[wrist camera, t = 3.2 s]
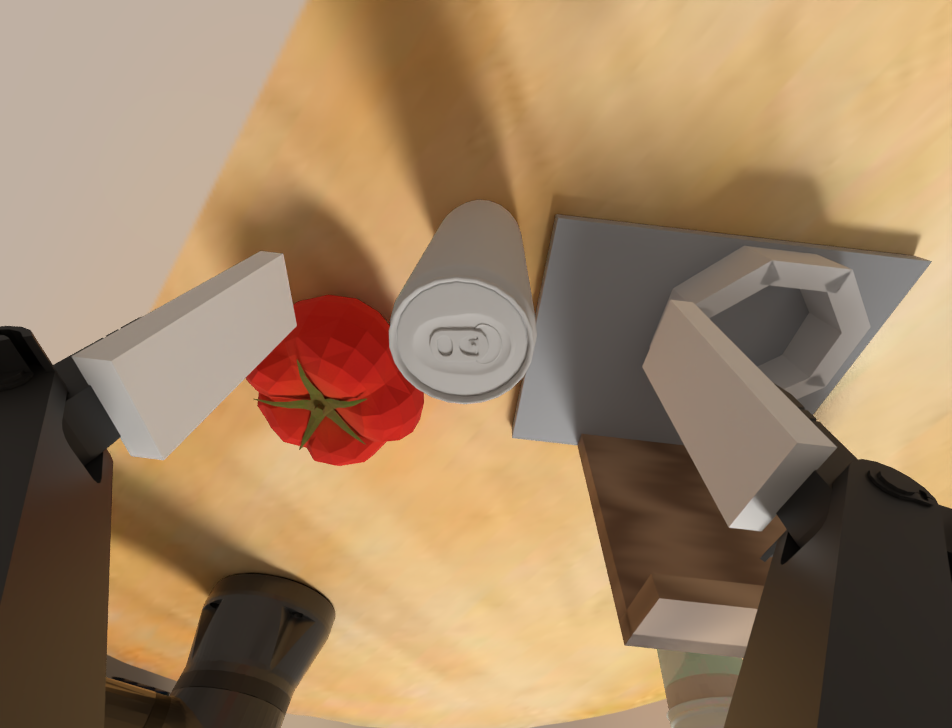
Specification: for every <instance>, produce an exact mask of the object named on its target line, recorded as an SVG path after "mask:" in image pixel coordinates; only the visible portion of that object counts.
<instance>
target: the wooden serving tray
mask: <svg viewBox="0 0 952 728" xmlns="http://www.w3.org/2000/svg"><path fill="white" fill-rule="evenodd" d="M578 449H579V454H580V458H581V462H582V466H583V471H584V475H585V479H586V483H587V488H588V492H589V496H590V500H591V505H592V509H593V513H594V517H595V522H596V526H597V530H598V534H599V539H600V543H601V547H602V551H603V555H604V560H605V564H606V568H607V572H608V577H609V581H610V585H611V589H612V594H613V598H614V602H615V606H616V611H617V615H618V619H619V623H620V628H621V632H622V636H623V640H624V645H626V646H636V647H645V648H654V649H663V650H672V651H682V652H691V653H700V654H709V655H718V656H728V657H737V658H744V655H745V651H746V648H747V644H748V641H749V637H750V634H751V630H752V627H753V623H754V620H755V616H756V613H757V609H758V606H759V603H760V599H761V596H762V592H763V589H764V585H765V582H766V578H767V575H768V571H769V568H770V564H771V561H772V557H770V558H769V559H768V560H767V561H766V562H764V561H763V560H761V559H760V557H761V556H762V555H763V554H764V553H765V552H766V551H767V550H768V549H769V548H770V547H771V545H772V544H773V543H774V542H775V541H776V540H777V539H778V538H779V537H780V536H781V535H782V534H783V533H784V532H785V531H786V530H787V529H786V527H785V526H784V524H783V523H782V522H781V520H780V519H779V517H778V516H777V515H776V516H775V517H774V518H773V520H772V521H771V522H770V523H769V524H768V525H767V526H766V527H765V528H764V530H763V531H754V530H745V529H737V528H729V527H728V525H727V523H726V521H725V520H724V518H723V516H722V514H721V512H720V510H719V508H718V507H717V505H716V503H715V501H714V499H713V497H712V495H711V494H710V492H709V490H708V488H707V486H706V484H705V483H704V481H703V479H702V477H701V475H700V473H699V471H698V470H697V468H696V466H695V464H694V462H693V460H692V458H691V457H690V455H689V453H688V451H687V449H686V447H685V445H677V444H668V443H659V442H650V441H642V440H633V439H624V438H615V437H606V436H597V435H588V434H581V437H580V440H579V443H578Z"/></svg>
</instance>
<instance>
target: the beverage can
mask: <svg viewBox="0 0 952 728" xmlns="http://www.w3.org/2000/svg"><path fill="white" fill-rule="evenodd" d="M536 338H537V330H536V320H535V312H534V306H533V301H532V295H531V289H530V283H529V277H528V271H527V265H526V259H525V254H524V248H523V242H522V236H521V232H520V229H519V226H518V224H517V221H516V220H515V219H514V217H513V216H512V215H511V213H510V212H509V211H507V210H506V209H505V208H504V207H502V206H501V205H499V204H497V203H494V202H492V201H489V200H474V201H470V202H466V203H464V204H462V205H460V206H459V207H457V208H455V209H454V210H453V211H452V212H450V213H449V214H448V215H447V216H446V217H445V219H444V220H443V222H442V223H441V225H440V226H439V228H438V230H437V231H436V233H435V235H434V236H433V238H432V240H431V242H430V243H429V245H428V247H427V248H426V250H425V252H424V254H423V255H422V257H421V259H420V260H419V262H418V264H417V265H416V267H415V269H414V270H413V272H412V274H411V275H410V277H409V279H408V280H407V282H406V284H405V286H404V287H403V289H402V291H401V292H400V294H399V296H398V297H397V299H396V301H395V303H394V307H393V311H392V315H391V318H390V328H389V348H390V351H391V354H392V357H393V359H394V362H395V364H396V366H397V367H398V369H399V370H400V372H401V373H402V375H403V376H404V377H405V378H406V379H407V380H408V381H409V382H410V383H411V384H412V385H413V386H414V387H416V388H417V389H418V390H420V391H422V392H424V393H425V394H427V395H429V396H431V397H433V398H436V399H439V400H442V401H446V402H450V403H459V404H471V403H481V402H485V401H488V400H491V399H494V398H497V397H499V396H501V395H502V394H504V393H506V392H507V391H509V390H510V389H512V388H513V387H514V386H515V385H516V384H517V383H518V382H519V381H520V380H521V379H522V378H523V377H524V375H525V373H526V371H527V369H528V367H529V366H530V364H531V361H532V356H533V352H534V347H535V343H536Z"/></svg>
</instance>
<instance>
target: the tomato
mask: <svg viewBox="0 0 952 728" xmlns="http://www.w3.org/2000/svg"><path fill="white" fill-rule="evenodd" d="M293 308H294V313H295V318H296V323H297V326H296V327H295V328H294V329H293V330H292V331H291V332H290V333H289V334H288V335H287V336H286V337H285V338H284V339H283V340H282V341H281V342H280V343H279V344H278V345H277V346H276V347H275V348H274V349H273V350H272V352H271V353H270V354H269V355H268V356H267V357H266V358H265V359H264V360H263V361H262V362H261V363H260V364H259V365H258V366H257V367H256V368H255V369H254V370H253V371H252V372H251V373H250V374H249V375H248V376H247V377H246V380H247V381H248V382H249V383H250V384H251V385H252V386H253V387H254V388H255V389H256V390H257V391H258V392H259V397H258V399H254V400H258V407H259V409H260V410H261V412H262V413H263V415H264V416H265V418H266V419H267V421H268V423H269V425H270V427H271V428H272V429H273V430H274V431H275V432H276V434H277V435H278V436H279V437H280V438H281V439H282V440H283V442H287V443H290V444H294V445H298V446H300V449H301V448H302V447H306V448H307V449H308V451H309V452H310V454H311V456H312V458H313V459H314V460H315V461H317V462H323V463H327V464H331V465H337V466H342V465H348V464H354V463H361V462H365V461H366V460H367V459H369V458H370V457H371V456H373V455H374V454H375V453H376V452H377V451H378V450H379V449H380V448H381V447H382V446H383V445H384V444H385V443H386V442H387V441H395V440H400V439H402V438H404V437H405V436H407V435H408V434H410V433H412V432H413V430H414V429H415V427H416V425H417V424H418V422H419V420H420V417H421V413H422V408H423V404H424V392H422V391H420V390H418V389H417V388H416V387H414V386H413V385H412V384H411V383H410V382H409V381H408V380H407V379H406V378H405V377H404V376H403V375H402V373H401V372H400V370H399V369H398V367H397V366H396V364H395V362H394V359H393V357H392V354H391V351H390V348H389V328H390V326H389V324H388V323H387V322H386V321H385V319H384V318H383V317H382V316H381V314H380V313H379V312H378V311H376V310H374V309H373V308H371V307H370V306H368V305H366V304H365V303H363V302H361V301H360V300H358V299H356V298H348V297H341V296H334V295H325V296H321V297H316V298H311V299H307V300H302V301H298V302H297V303H295V304H293ZM300 449H299V450H300Z"/></svg>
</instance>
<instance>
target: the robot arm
mask: <svg viewBox="0 0 952 728" xmlns="http://www.w3.org/2000/svg"><path fill="white" fill-rule="evenodd" d="M296 326H297V323H296V318H295V313H294V308H293V302H292V297H291V292H290V286H289V281H288V276H287V271H286V265H285V260H284V255H283V254H282V253H274V252H266V251H260V252H258V253H256V254H254V255H252V256H251V257H249V258H247V259H245V260H244V261H242V262H240V263H238V264H236V265H235V266H233V267H231V268H229V269H227V270H226V271H224V272H222V273H220V274H218V275H217V276H215V277H213V278H211V279H209V280H208V281H206V282H204V283H202V284H200V285H199V286H197V287H195V288H193V289H191V290H190V291H188V292H186V293H184V294H182V295H181V296H179V297H177V298H175V299H173V300H172V301H170V302H168V303H166V304H164V305H163V306H161V307H159V308H157V309H155V310H154V311H152V312H150V313H148V314H146V315H145V316H143V317H140V318H138V319H136V320H134V321H132V322H130V323H129V324H126V325H125V326H123V327H121V329H120V330H116V331H114V332H112V333H110V334H108V335H107V336H106V337H105V338H101V339H99V340H98V341H96V342H94V343H92V344H90V345H89V346H87V347H85V348H84V349H81V350H80V351H78V352H76V353H74V354H72V355H70V356H69V357H67V358H65V359H63V360H62V361H60V362H58V363H56V364H55V365H52V363H51V361H50V360H49V358H48V357H47V355H46V354H45V352H44V350H43V349H42V347H41V346H40V344H39V343H38V341H37V340H36V338H35V337H34V335H33V333H32V332H31V331H30V330H29V329H26V328H23V327H15V326H14V327H13V326H1V327H0V728H281V726H282V723H283V720H284V717H285V714H286V711H287V708H288V706H289V703H290V701H291V698H292V695H293V693H294V691H295V689H296V687H297V686H298V684H299V683H300V681H301V680H302V678H303V676H304V675H305V673H306V672H307V670H308V669H309V667H310V666H311V664H312V662H313V661H314V659H315V658H316V656H317V655H318V653H319V652H320V650H321V649H322V647H323V645H324V644H325V642H326V641H327V639H328V637H329V634H330V631H331V628H332V625H333V622H334V619H335V611H334V609H333V607H332V605H331V604H330V603H329V602H328V601H327V600H326V599H325V598H324V597H323V596H322V595H320V594H319V593H317V592H316V591H314V590H312V589H310V588H308V587H306V586H304V585H302V584H299V583H297V582H294V581H291V580H287V579H284V578H280V577H275V576H270V575H262V574H239V575H233V576H229V577H226V578H224V579H222V580H220V581H219V582H218V583H217V584H216V585H215V587H214V589H213V590H212V592H211V594H210V595H209V597H208V599H207V600H206V602H205V604H204V606H203V609H202V613H201V616H200V620H199V623H198V627H197V630H196V634H195V637H194V641H193V644H192V648H191V651H190V654H189V658H188V661H187V664H186V667H185V669H184V671H183V672H182V674H181V676H180V678H179V680H178V681H177V683H176V685H175V687H174V688H173V690H172V692H171V693H170V695H169V696H166V695H163V694H159V693H156V692H154V691H150V690H147V689H144V688H140V687H137V686H134V685H130V684H127V683H123V682H120V681H117V680H113V679H110V678H107V677H106V656H107V626H108V596H109V566H110V536H111V506H112V476H113V460H112V457H111V455H110V453H109V452H108V450H107V448H108V447H109V446H110V445H111V444H113V443H114V442H115V441H116V440H117V439H119V438H121V440H122V442H123V443H124V445H125V447H126V448H127V450H128V452H129V453H130V455H131V456H134V457H142V458H150V459H159V460H165V459H166V458H167V457H168V456H169V455H170V454H171V453H172V452H173V451H174V450H175V449H176V448H177V447H178V446H179V445H180V444H181V442H182V441H183V440H184V439H185V438H186V437H187V436H188V435H189V434H190V433H191V432H192V431H193V430H194V429H195V428H196V427H197V426H198V425H199V424H200V423H201V422H202V421H203V420H204V419H205V418H206V417H207V416H208V415H209V414H210V413H211V412H212V411H213V410H214V409H215V408H216V407H217V406H218V405H219V404H220V403H221V402H222V401H223V400H224V399H225V398H226V397H227V396H228V395H229V394H230V393H231V392H232V391H233V390H234V389H235V388H236V387H237V386H238V385H239V384H240V383H241V382H242V381H243V380H244V379H245V378H246V377H247V376H248V375H249V374H250V373H251V372H252V371H253V370H254V369H255V368H256V367H257V366H258V365H259V364H260V363H261V362H262V361H263V360H264V359H265V358H266V357H267V356H268V355H269V354H270V353H271V352H272V350H273V349H274V348H275V347H276V346H277V345H278V344H279V343H280V342H281V341H282V340H283V339H284V338H285V337H286V336H287V335H288V334H289V333H290V332H291V331H292V330H293V329H294V328H295V327H296ZM642 367H643V369H644V371H645V373H646V375H647V377H648V379H649V380H650V382H651V384H652V386H653V388H654V390H655V392H656V393H657V395H658V397H659V399H660V401H661V403H662V405H663V406H664V408H665V410H666V412H667V414H668V416H669V418H670V419H671V421H672V423H673V425H674V427H675V429H676V431H677V432H678V434H679V436H680V438H681V440H682V442H683V444H684V445H685V447H686V449H687V451H688V453H689V455H690V457H691V458H692V460H693V462H694V464H695V466H696V468H697V470H698V471H699V473H700V475H701V477H702V479H703V481H704V483H705V484H706V486H707V488H708V490H709V492H710V494H711V495H712V497H713V499H714V501H715V503H716V505H717V507H718V508H719V510H720V512H721V514H722V516H723V518H724V520H725V521H726V523H727V525H728V527H729V528H737V529H745V530H754V531H763V530H764V528H765V527H766V526H767V525H768V524H769V523H770V522H771V521H772V520H773V518H774V517H775V516H776V515H777V516H778V517H779V519H780V520H781V522H782V523H783V524H784V526H785V527H786V529H787V530H786V531H785V532H784V533H783V534H782V535H781V536H780V537H779V538H778V539H777V540H776V541H775V542H774V543H773V544H772V545H771V547H770V548H769V549H768V550H767V551H766V552H765V553H764V554H763V555H762V556H761V557H760V559H761V560H763V561H764V562H766V561H767V560H768V559H769V558H770V557H772V561H771V564H770V568H769V571H768V575H767V578H766V582H765V585H764V589H763V592H762V596H761V599H760V603H759V606H758V609H757V613H756V616H755V620H754V623H753V627H752V630H751V634H750V637H749V641H748V644H747V648H746V651H745V655H744V658H743V662H742V665H741V669H740V672H739V676H738V679H737V683H736V686H735V690H734V693H733V696H732V700H731V703H730V707H729V710H728V714H727V717H726V721H725V724H724V728H952V509H951V508H947V507H944V506H941V505H938V503H937V501H936V499H935V498H934V497H933V496H932V495H931V494H930V493H929V492H928V491H927V490H926V489H925V488H924V487H923V486H921V485H920V484H918V483H917V482H916V481H914V480H913V479H911V478H910V477H908V476H907V475H905V474H903V473H901V472H899V471H897V470H895V469H893V468H891V467H889V466H886V465H883V464H881V463H878V462H874V461H869V460H864V459H860V460H858V459H857V458H856V457H855V456H854V455H853V454H852V453H851V452H850V451H849V450H848V449H847V448H846V447H845V446H844V445H843V444H842V443H840V442H839V441H838V440H837V439H836V438H835V437H834V436H833V435H832V434H831V433H830V432H829V431H828V430H827V429H826V428H825V427H824V426H823V425H822V424H821V423H820V422H816V418H815V417H814V416H813V415H812V414H811V413H810V412H809V411H808V410H805V407H804V406H803V405H802V404H801V403H800V402H799V401H798V400H797V399H796V398H795V397H794V396H793V395H792V394H790V393H789V392H787V391H786V390H784V389H783V388H781V387H779V386H778V385H776V384H775V383H773V382H772V381H771V380H770V379H769V378H768V377H767V376H766V375H765V374H764V373H763V372H762V371H761V370H760V369H759V368H758V367H757V366H756V365H755V364H754V363H753V362H752V361H751V360H750V359H749V358H748V357H747V356H746V355H745V354H744V353H743V352H742V351H741V350H740V349H739V348H738V347H737V346H736V345H735V344H734V343H733V342H732V341H731V340H730V339H729V338H728V337H727V336H726V335H725V334H724V333H723V332H722V331H721V330H720V329H719V328H718V327H717V326H716V325H715V324H714V323H713V322H712V321H711V320H710V319H709V318H708V317H707V316H706V315H705V314H704V313H703V312H702V311H701V310H700V309H699V308H698V307H697V306H696V305H695V304H694V303H693V302H687V301H678V300H670V301H669V304H668V306H667V309H666V311H665V313H664V316H663V318H662V321H661V323H660V325H659V328H658V330H657V333H656V335H655V337H654V340H653V342H652V344H651V347H650V349H649V352H648V354H647V356H646V359H645V361H644V364H643V366H642Z"/></svg>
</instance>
